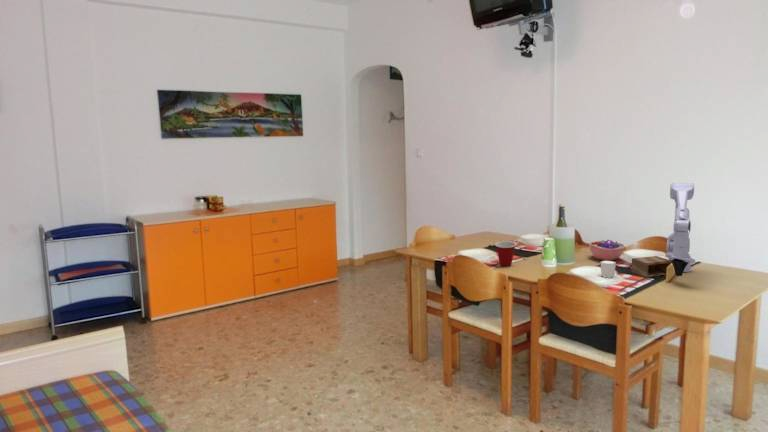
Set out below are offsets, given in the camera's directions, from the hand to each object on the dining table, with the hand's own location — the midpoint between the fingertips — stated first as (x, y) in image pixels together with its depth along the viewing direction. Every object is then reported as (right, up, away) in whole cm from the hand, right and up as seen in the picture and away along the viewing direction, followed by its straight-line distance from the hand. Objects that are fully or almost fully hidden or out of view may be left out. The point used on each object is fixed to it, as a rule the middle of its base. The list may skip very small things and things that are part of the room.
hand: (678, 275), depth 242 cm
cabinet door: (+1, -2, +10) cm, 10 cm away
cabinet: (-3, -1, +19) cm, 20 cm away
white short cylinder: (-25, -2, +17) cm, 30 cm away
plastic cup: (-69, +1, +41) cm, 80 cm away
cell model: (-13, +3, +48) cm, 50 cm away
